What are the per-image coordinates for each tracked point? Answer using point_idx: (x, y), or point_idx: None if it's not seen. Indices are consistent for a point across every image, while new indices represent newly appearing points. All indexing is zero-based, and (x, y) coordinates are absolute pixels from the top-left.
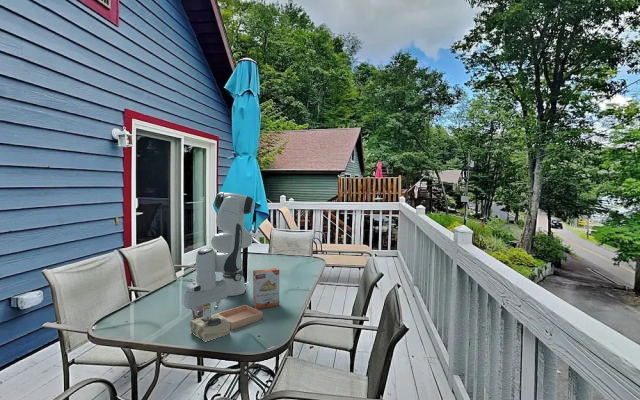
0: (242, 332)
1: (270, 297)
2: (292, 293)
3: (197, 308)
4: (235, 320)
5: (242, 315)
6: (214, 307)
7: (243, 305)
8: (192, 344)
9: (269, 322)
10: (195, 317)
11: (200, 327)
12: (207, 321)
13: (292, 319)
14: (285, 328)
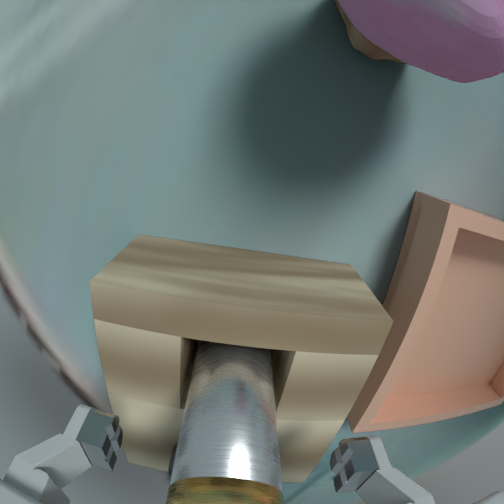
0: (338, 438)
1: None
2: None
3: (372, 16)
4: (440, 343)
5: (501, 311)
6: (344, 469)
7: None
8: (91, 364)
9: (455, 422)
10: (340, 11)
11: (119, 424)
12: None
13: (480, 435)
14: (416, 470)
